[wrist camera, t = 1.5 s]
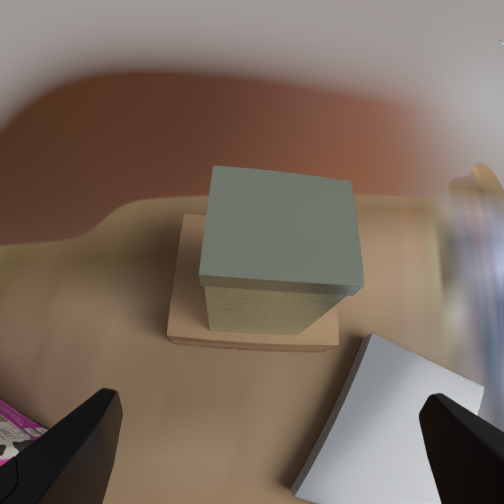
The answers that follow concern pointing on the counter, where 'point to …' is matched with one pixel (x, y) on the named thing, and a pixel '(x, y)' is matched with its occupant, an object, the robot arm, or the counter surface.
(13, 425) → the candy bar box
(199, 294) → the tan flat block
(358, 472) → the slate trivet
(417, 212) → the counter surface
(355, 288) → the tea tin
